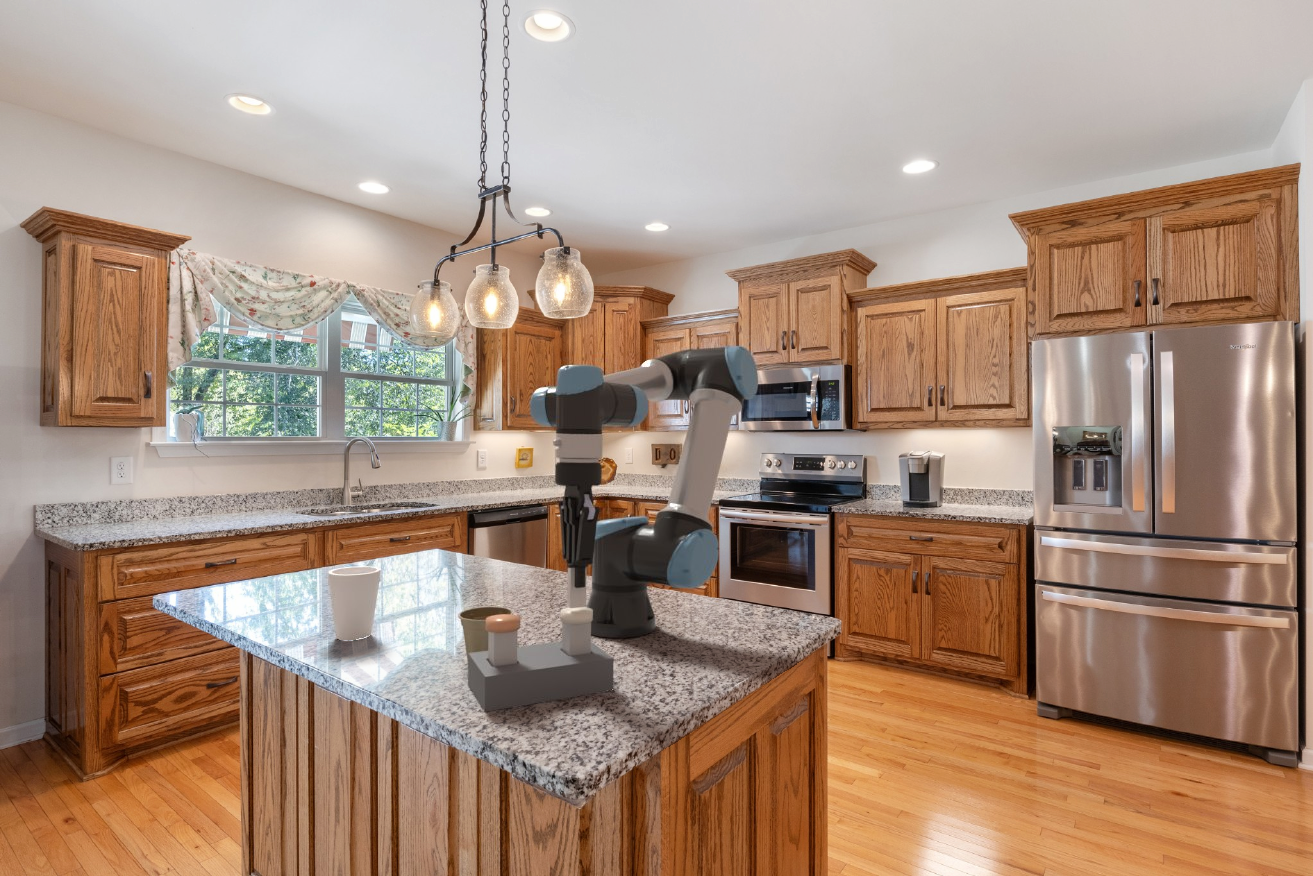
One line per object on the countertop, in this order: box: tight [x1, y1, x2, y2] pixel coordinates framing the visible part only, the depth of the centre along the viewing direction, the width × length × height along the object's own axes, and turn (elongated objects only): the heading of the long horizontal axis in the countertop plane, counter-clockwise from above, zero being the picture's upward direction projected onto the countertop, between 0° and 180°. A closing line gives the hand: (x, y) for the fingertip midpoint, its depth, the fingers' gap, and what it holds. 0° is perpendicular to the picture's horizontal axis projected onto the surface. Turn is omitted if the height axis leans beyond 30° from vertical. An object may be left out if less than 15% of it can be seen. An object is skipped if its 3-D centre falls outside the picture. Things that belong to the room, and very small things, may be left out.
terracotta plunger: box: [486, 614, 521, 667], centre depth 104 cm, size 5×5×7 cm
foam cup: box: [327, 565, 382, 641], centre depth 133 cm, size 10×9×13 cm
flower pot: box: [457, 606, 514, 663], centre depth 118 cm, size 9×9×9 cm
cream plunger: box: [560, 606, 593, 656], centre depth 109 cm, size 5×5×7 cm
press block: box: [467, 640, 615, 713], centre depth 106 cm, size 20×12×5 cm, turn 117°
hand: (576, 606), depth 109 cm, fingers closed
